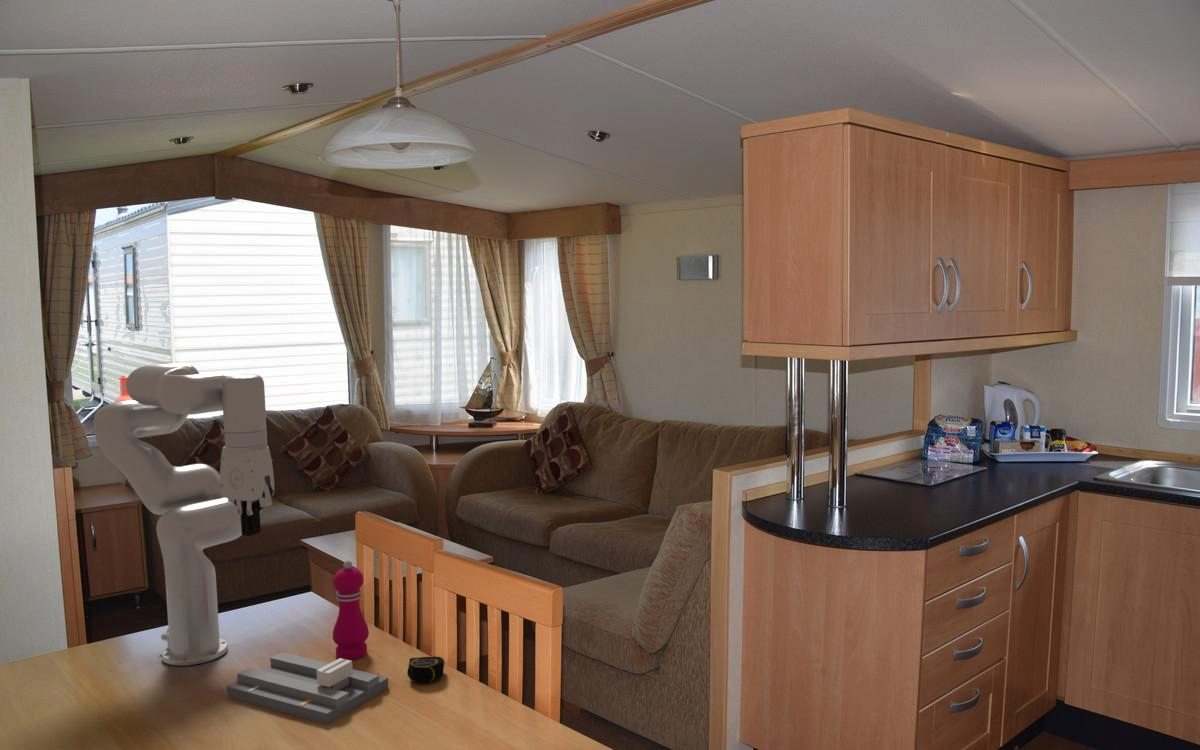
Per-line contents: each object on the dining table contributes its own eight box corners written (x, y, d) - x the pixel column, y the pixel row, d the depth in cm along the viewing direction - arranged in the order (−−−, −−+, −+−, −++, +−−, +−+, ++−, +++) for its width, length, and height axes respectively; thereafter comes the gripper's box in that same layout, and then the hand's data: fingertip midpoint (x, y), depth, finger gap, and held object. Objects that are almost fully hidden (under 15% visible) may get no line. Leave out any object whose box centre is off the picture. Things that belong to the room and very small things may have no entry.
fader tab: (317, 692, 166) (316, 669, 165) (340, 679, 171) (339, 657, 171) (329, 695, 165) (328, 672, 164) (353, 682, 170) (352, 660, 169)
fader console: (227, 696, 170) (226, 678, 170) (292, 664, 184) (291, 647, 184) (327, 724, 158) (326, 705, 158) (388, 687, 173) (387, 670, 172)
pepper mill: (359, 662, 184) (355, 567, 182) (327, 660, 186) (322, 565, 184) (375, 648, 191) (371, 556, 189) (343, 646, 193) (339, 554, 191)
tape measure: (444, 671, 180) (444, 653, 180) (442, 686, 173) (441, 667, 173) (409, 673, 180) (409, 654, 179) (405, 688, 173) (405, 669, 172)
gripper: (202, 440, 173) (208, 534, 174) (258, 445, 166) (263, 543, 168) (234, 434, 179) (239, 525, 181) (289, 439, 172) (294, 533, 174)
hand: (251, 533), depth 174 cm, fingers closed
